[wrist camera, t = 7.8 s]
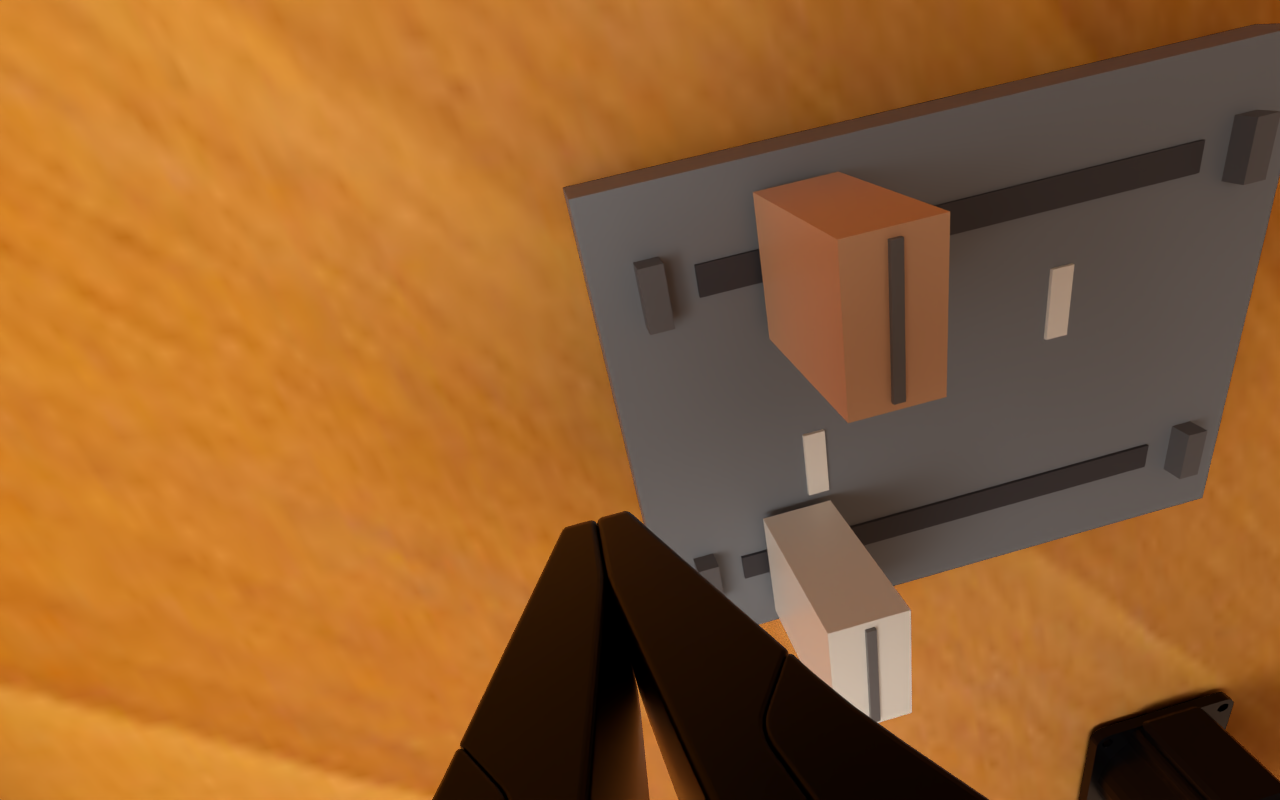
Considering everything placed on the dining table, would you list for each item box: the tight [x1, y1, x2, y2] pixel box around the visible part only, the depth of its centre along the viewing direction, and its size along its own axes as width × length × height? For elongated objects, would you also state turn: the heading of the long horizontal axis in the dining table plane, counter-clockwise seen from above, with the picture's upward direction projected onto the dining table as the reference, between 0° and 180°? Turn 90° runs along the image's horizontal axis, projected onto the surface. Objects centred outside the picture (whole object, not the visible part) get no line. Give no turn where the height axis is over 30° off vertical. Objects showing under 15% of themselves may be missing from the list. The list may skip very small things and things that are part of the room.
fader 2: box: [763, 500, 912, 723], centre depth 19 cm, size 4×2×4 cm, turn 11°
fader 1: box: [753, 172, 950, 423], centre depth 14 cm, size 4×2×4 cm, turn 11°
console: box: [563, 24, 1280, 624], centre depth 19 cm, size 14×18×2 cm
